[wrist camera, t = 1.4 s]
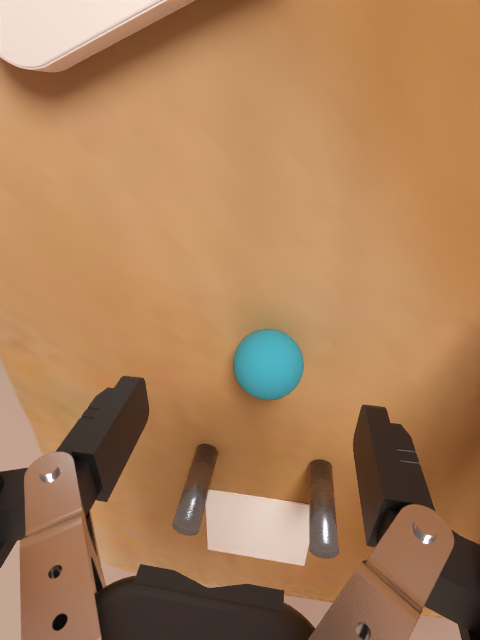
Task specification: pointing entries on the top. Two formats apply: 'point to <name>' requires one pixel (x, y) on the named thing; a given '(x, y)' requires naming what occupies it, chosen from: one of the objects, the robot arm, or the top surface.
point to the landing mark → (257, 527)
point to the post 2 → (322, 510)
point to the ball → (268, 364)
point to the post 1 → (195, 491)
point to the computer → (71, 28)
